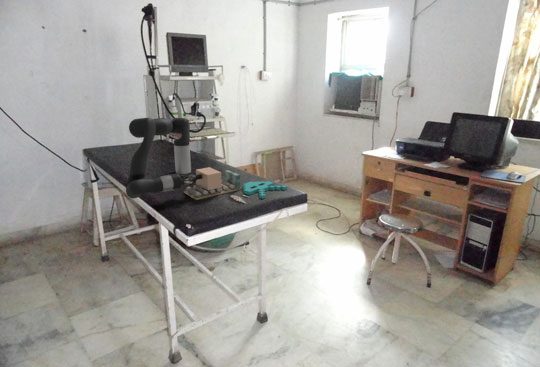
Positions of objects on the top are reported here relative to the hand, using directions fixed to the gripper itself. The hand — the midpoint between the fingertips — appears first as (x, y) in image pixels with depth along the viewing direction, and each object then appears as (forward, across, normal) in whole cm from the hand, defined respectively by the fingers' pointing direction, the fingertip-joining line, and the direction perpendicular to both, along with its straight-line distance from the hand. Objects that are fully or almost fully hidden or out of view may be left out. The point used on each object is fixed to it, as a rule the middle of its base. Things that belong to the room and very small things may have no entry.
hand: (201, 176), depth 188 cm
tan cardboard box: (+4, 0, +6) cm, 7 cm away
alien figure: (+28, -13, +10) cm, 33 cm away
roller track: (+7, 0, +9) cm, 11 cm away
